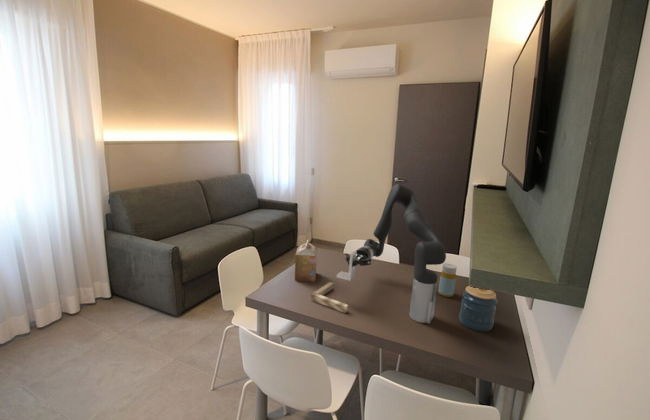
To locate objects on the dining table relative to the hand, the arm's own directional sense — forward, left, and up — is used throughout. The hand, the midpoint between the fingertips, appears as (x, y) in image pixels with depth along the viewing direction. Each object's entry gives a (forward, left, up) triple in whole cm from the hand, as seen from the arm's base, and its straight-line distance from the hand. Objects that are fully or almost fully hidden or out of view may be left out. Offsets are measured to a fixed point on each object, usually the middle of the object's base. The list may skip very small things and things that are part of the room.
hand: (351, 264), depth 135 cm
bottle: (-33, -39, -20) cm, 55 cm away
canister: (-49, -20, -20) cm, 57 cm away
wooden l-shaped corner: (+7, -1, -19) cm, 20 cm away
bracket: (+3, -1, -7) cm, 8 cm away
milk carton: (+33, -12, -20) cm, 40 cm away
